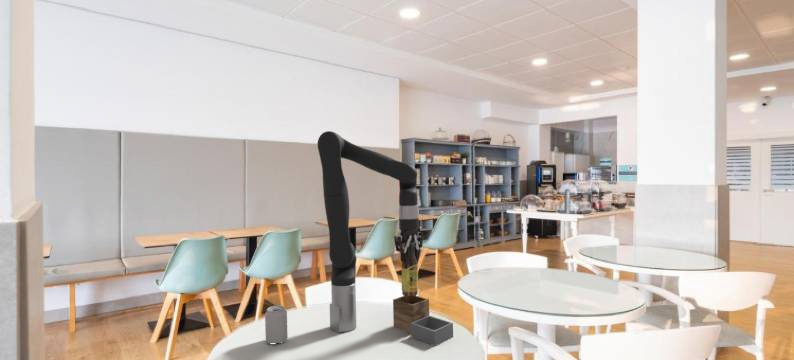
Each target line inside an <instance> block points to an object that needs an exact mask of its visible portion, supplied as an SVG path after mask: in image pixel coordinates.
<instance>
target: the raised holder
mask: <svg viewBox="0 0 794 360" xmlns="http://www.w3.org/2000/svg"><path fill="white" fill-rule="evenodd" d="M392 307H393V308H392V310H393V312H392V313H393V315H392V316H393V327H394V328H396V329H399V330H402V331H404V332H407V333H410V334H411V323H412V322H415V321H417V320H419V319H422V318H424V317H427V316H430V299H429V298H425V297H421V296H418V295H416V296H409V297H407V296H404V295H402V296H400V297H397V298H393V299H392Z"/></svg>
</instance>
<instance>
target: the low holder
mask: <svg viewBox="0 0 794 360" xmlns="http://www.w3.org/2000/svg"><path fill="white" fill-rule="evenodd" d="M410 337H411V339H412V338H413V339H416V340H418V341H420V342H423V343H426V344H429V345H432V346H434V347H435V346H438V345H440V344H441V343H444V342H446V341H448V340H450V339H452V338H454V322H451V321H449V320H448V321H447V320H446V319H442V318H439V317H436V316H432V315H429V316H427V317H424V318H422V319H419V320H417V321H415V322H412V323H411V333H410Z"/></svg>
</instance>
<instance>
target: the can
mask: <svg viewBox="0 0 794 360" xmlns="http://www.w3.org/2000/svg"><path fill="white" fill-rule="evenodd" d="M264 318H265V319H264V320H265V321H264V322H265V323H264V327H265V342H266V343H268V344H269V343H281V342H283V343H285V342H286V340H287V339H288V310H287V309H286V307H285V306H284V305H272V306H269V307H268V308H267V309H266V312H265V313H264ZM284 341H285V342H284ZM281 344H282V343H281Z"/></svg>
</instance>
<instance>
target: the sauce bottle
mask: <svg viewBox="0 0 794 360" xmlns="http://www.w3.org/2000/svg"><path fill="white" fill-rule="evenodd" d="M404 244H405V243H404ZM414 247H415V243H411V244H409V247H407V250H406V255H407V262H406V263H403V262H401V291H402V292H401V293H402V296H407V297H409V296H418V294H419V293H418V291H419V262H418V261H417V260H416V257H415V252H414Z"/></svg>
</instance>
